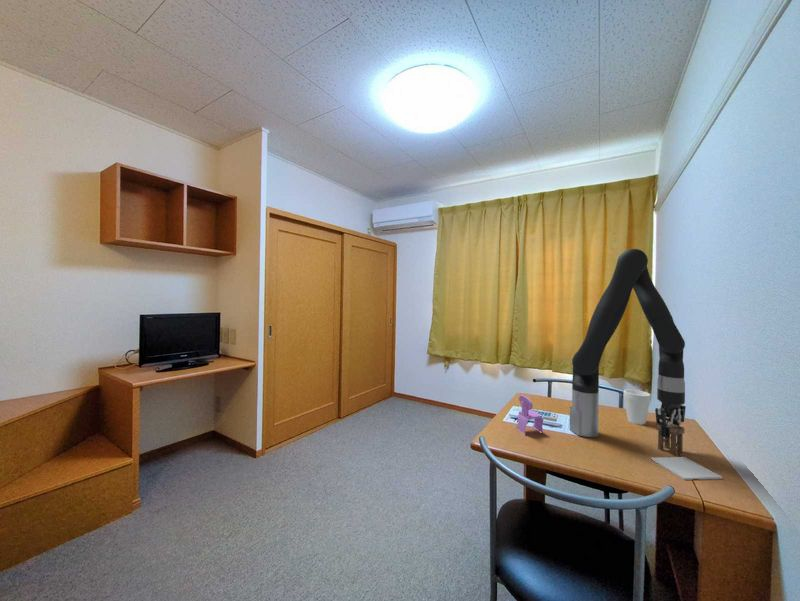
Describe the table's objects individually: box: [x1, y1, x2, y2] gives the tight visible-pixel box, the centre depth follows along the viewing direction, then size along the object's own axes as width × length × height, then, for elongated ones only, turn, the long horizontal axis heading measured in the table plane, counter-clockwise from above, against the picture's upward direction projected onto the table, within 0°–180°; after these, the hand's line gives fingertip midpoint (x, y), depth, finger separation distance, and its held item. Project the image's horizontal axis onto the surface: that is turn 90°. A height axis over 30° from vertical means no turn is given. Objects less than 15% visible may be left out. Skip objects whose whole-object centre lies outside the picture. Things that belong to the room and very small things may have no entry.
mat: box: [650, 456, 723, 481], centre depth 101 cm, size 12×12×1 cm
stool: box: [656, 421, 685, 456], centre depth 113 cm, size 6×6×9 cm
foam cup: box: [623, 389, 652, 426], centre depth 139 cm, size 10×9×13 cm
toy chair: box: [515, 394, 544, 435], centre depth 129 cm, size 8×9×15 cm
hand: (670, 435), depth 113 cm, fingers closed on stool, 5 cm apart
